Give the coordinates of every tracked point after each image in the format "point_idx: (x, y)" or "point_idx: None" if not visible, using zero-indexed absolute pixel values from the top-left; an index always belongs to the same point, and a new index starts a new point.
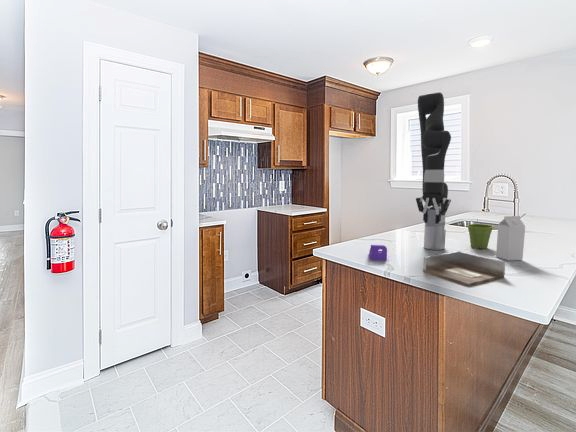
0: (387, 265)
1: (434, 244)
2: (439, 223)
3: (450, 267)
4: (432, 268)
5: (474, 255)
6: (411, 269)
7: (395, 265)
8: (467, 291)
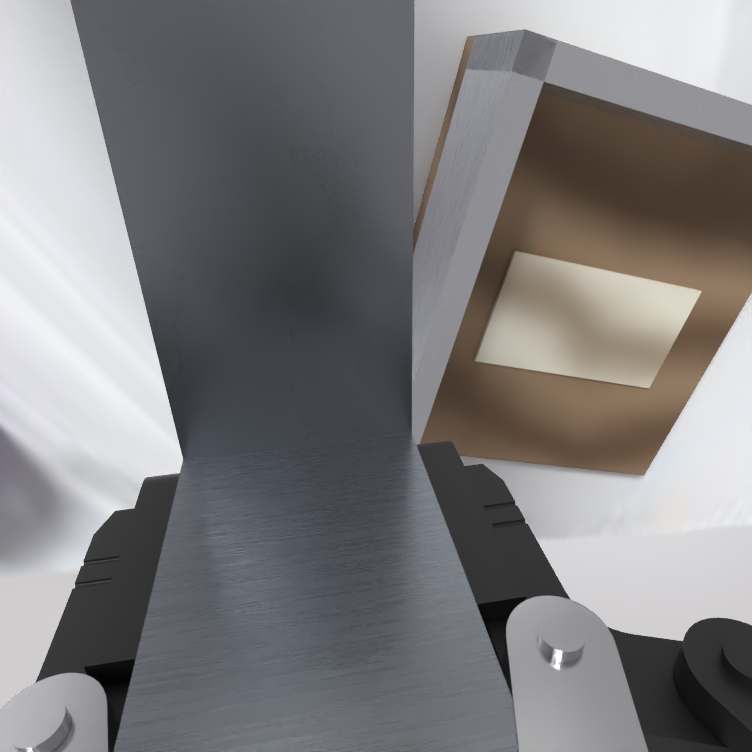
0: (100, 489)
1: None
2: (407, 338)
3: None
4: None
5: (707, 131)
6: None
7: (133, 450)
8: (638, 518)
